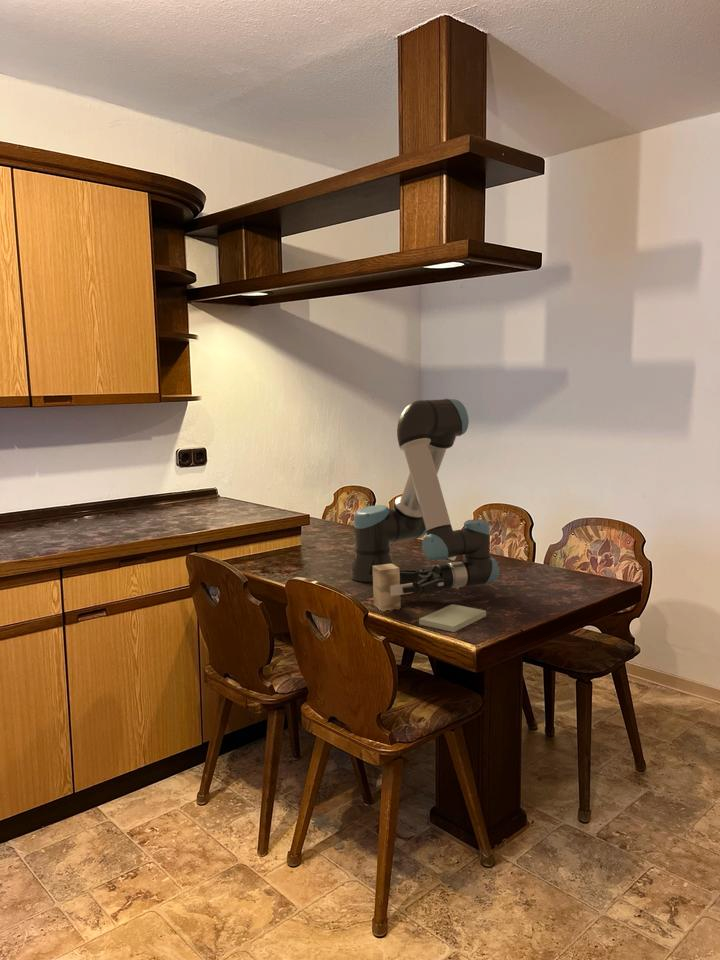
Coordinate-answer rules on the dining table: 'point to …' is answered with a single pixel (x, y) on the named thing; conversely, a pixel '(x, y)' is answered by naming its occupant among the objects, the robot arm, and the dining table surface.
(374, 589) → the maple block
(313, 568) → the dining table surface
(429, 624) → the sage board
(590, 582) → the dining table surface
